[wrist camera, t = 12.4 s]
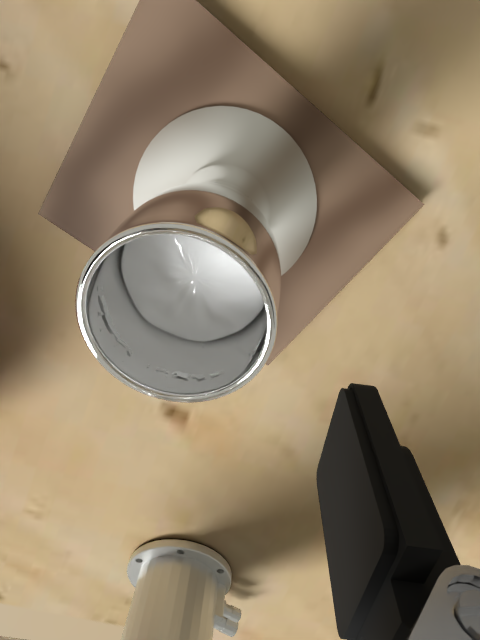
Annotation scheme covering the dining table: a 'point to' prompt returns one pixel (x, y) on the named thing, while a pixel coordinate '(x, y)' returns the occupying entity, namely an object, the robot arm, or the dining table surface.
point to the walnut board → (226, 154)
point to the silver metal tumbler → (186, 289)
